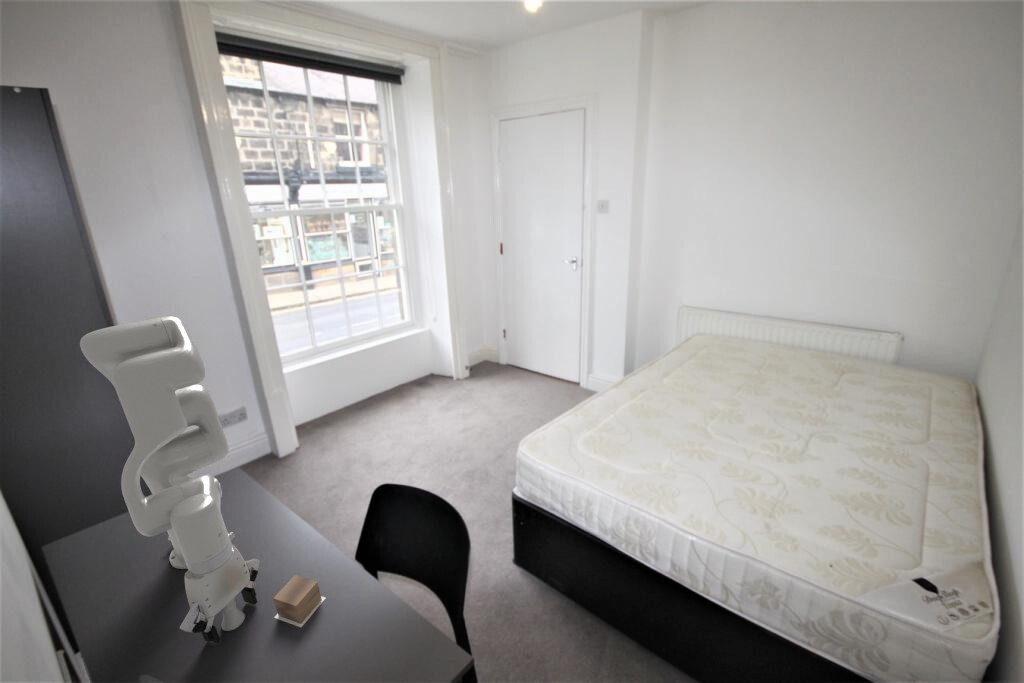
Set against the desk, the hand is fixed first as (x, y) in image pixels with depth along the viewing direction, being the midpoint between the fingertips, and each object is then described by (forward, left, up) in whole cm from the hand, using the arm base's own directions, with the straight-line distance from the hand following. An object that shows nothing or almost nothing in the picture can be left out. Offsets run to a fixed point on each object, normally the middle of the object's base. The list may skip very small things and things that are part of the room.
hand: (232, 620), depth 93 cm
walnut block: (+11, +7, -1) cm, 13 cm away
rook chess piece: (0, 0, -2) cm, 2 cm away
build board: (+10, +7, -2) cm, 12 cm away
